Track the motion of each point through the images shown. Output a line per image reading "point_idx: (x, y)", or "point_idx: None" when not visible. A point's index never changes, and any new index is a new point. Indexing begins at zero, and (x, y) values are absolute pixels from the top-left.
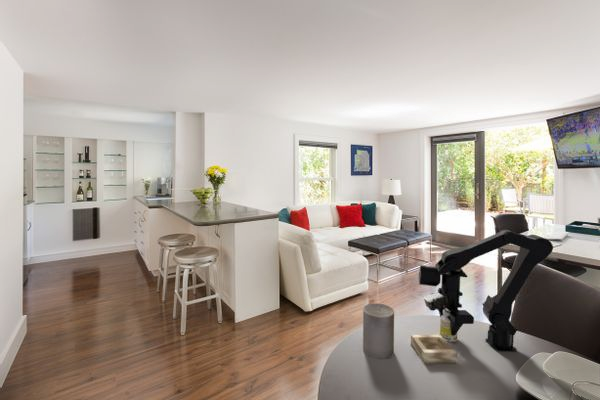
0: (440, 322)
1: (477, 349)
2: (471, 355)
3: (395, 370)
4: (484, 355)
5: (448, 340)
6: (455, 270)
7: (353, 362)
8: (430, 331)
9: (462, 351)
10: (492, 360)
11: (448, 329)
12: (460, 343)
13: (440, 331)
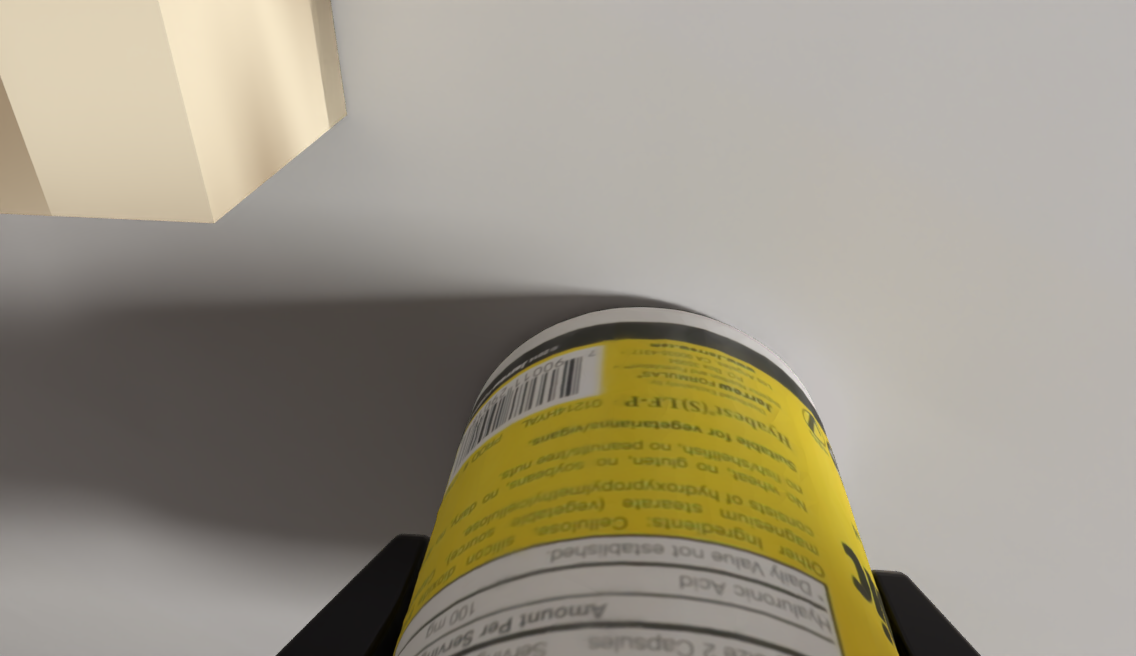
0: (772, 625)
1: (282, 648)
2: (67, 491)
3: None
4: (131, 639)
5: (484, 387)
6: None
7: None
8: (1032, 199)
9: (158, 427)
10: (28, 653)
11: (418, 602)
12: None
13: (699, 387)
